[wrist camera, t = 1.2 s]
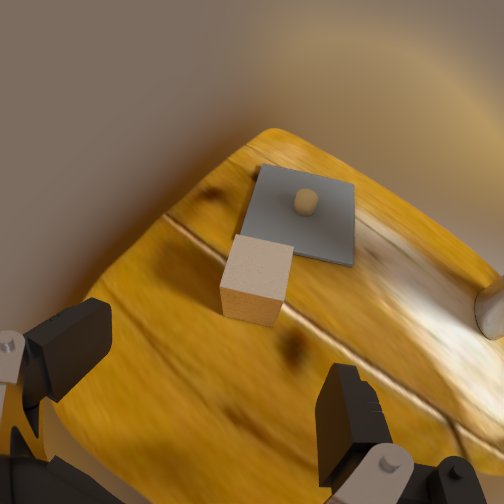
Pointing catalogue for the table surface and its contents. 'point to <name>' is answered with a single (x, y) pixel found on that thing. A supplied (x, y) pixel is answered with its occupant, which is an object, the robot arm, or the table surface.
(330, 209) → the mat
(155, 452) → the table surface
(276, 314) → the block
